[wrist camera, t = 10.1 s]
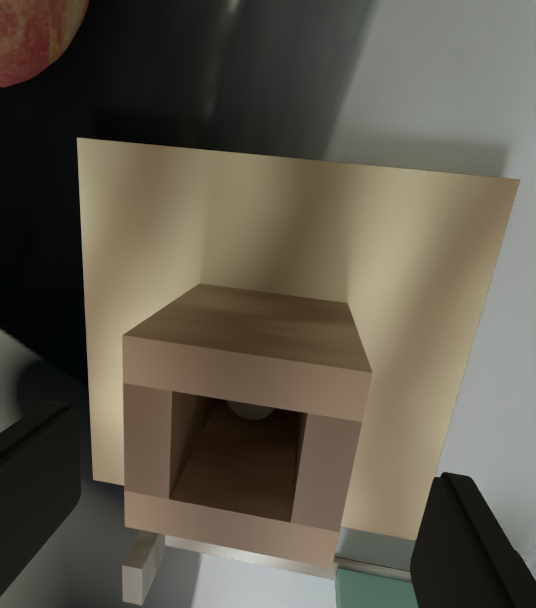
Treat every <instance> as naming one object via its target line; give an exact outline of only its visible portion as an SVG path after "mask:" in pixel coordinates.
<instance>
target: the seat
mask: <svg viewBox="0 0 536 608" xmlns="http://www.w3.org/2000/svg"><path fill="white" fill-rule="evenodd" d="M77 148H78V169H79V190H80V211H81V232H82V253H83V274H84V295H85V316H86V337H87V358H88V379H89V398H90V399H89V400H90V420H91V441H92V462H93V480H98V481H104V482H109V483H114V484H119V485H124V424H123V355H122V335H123V334H125V333H126V332H128V331H129V330H131V329H132V328H134V327H135V326H137V325H138V324H140V323H141V322H143V321H144V320H146V319H147V318H149V317H150V316H152V315H153V314H155V313H156V312H158V311H159V310H161V309H162V308H163V307H165V306H166V305H168V304H169V303H171V302H172V301H174V300H175V299H177V298H178V297H180V296H181V295H183V294H184V293H186V292H187V291H189V290H190V289H192V288H193V287H195V286H196V285H198V284H199V283H201V284H209V285H216V286H224V287H231V288H239V289H246V290H254V291H261V292H269V293H276V294H284V295H291V296H299V297H306V298H314V299H321V300H329V301H336V302H344V303H348V305H349V308H350V311H351V313H352V316H353V319H354V322H355V325H356V327H357V330H358V333H359V336H360V339H361V342H362V344H363V347H364V350H365V353H366V356H367V358H368V361H369V364H370V367H371V370H372V372H373V374H372V379H371V383H370V388H369V393H368V398H367V402H366V407H365V412H364V417H363V421H362V426H361V431H360V436H359V441H358V445H357V450H356V455H355V460H354V464H353V469H352V474H351V479H350V483H349V488H348V493H347V498H346V503H345V507H344V512H343V517H342V522H341V526H340V527H345V528H351V529H356V530H361V531H366V532H372V533H377V534H382V535H388V536H393V537H398V538H403V539H409V540H414V541H416V538H417V534H418V531H419V527H420V524H421V520H422V517H423V513H424V510H425V506H426V503H427V499H428V496H429V492H430V488H431V484H432V481H433V479H434V475H435V472H436V468H437V465H438V461H439V458H440V455H441V451H442V448H443V444H444V441H445V437H446V434H447V430H448V427H449V423H450V420H451V416H452V413H453V410H454V406H455V403H456V399H457V396H458V392H459V389H460V385H461V382H462V378H463V375H464V372H465V368H466V365H467V361H468V358H469V354H470V351H471V347H472V344H473V340H474V337H475V333H476V330H477V327H478V323H479V320H480V316H481V313H482V309H483V306H484V302H485V299H486V295H487V292H488V289H489V285H490V282H491V278H492V275H493V271H494V268H495V264H496V261H497V257H498V254H499V251H500V247H501V244H502V240H503V237H504V233H505V230H506V226H507V223H508V219H509V216H510V212H511V209H512V206H513V202H514V199H515V195H516V192H517V188H518V185H519V181H520V180H519V179H509V178H498V177H488V176H477V175H467V174H456V173H445V172H435V171H424V170H414V169H403V168H392V167H382V166H371V165H361V164H350V163H339V162H329V161H318V160H308V159H297V158H287V157H276V156H265V155H255V154H244V153H234V152H223V151H212V150H202V149H191V148H181V147H170V146H159V145H149V144H138V143H128V142H117V141H107V140H96V139H85V138H77ZM227 403H228V405H229V407H230V408H231V409H232V411H233V412H234V413H236V414H237V415H239V416H240V417H242V418H245V419H249V420H259V419H263V418H265V417H267V416H269V415H270V414H271V413H272V412H273V411H274V410H275V408H273V407H267V406H261V405H255V404H249V403H243V402H237V401H231V400H227ZM167 546H171V547H176V548H181V549H186V550H191V551H195V552H200V553H205V554H210V555H215V556H220V557H225V558H230V559H234V560H239V561H244V562H249V563H254V564H259V565H264V566H269V567H274V568H278V569H283V570H288V571H293V572H298V573H303V574H308V575H313V576H318V577H322V578H327V579H332V580H336V576H337V571H338V569H343V570H348V571H353V572H358V573H363V574H368V575H373V576H378V577H383V578H388V579H393V580H398V581H403V582H408V583H412V581H411V575H410V572H407V571H402V570H397V569H392V568H387V567H381V566H376V565H371V564H366V563H361V562H356V561H351V560H346V559H341V558H336V557H334V560H333V565H332V569H331V568H326V567H321V566H317V565H312V564H307V563H302V562H297V561H292V560H287V559H282V558H277V557H272V556H267V555H262V554H257V553H253V552H248V551H243V550H238V549H233V548H228V547H223V546H218V545H213V544H208V543H203V542H198V541H194V540H189V539H184V538H179V537H174V536H169V535H164V534H159V533H154V532H149V531H144V530H141V531H140V533H139V535H138V536H137V538H136V540H135V542H134V544H133V546H132V548H131V550H130V551H129V553H128V555H127V557H126V559H125V561H124V563H123V565H122V580H123V601H124V602H129V603H134V604H138V605H143V602H144V600H145V598H146V595H147V593H148V591H149V588H150V586H151V584H152V581H153V579H154V577H155V574H156V572H157V570H158V567H159V565H160V563H161V560H162V558H163V556H164V553H165V551H166V549H167Z"/></svg>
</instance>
